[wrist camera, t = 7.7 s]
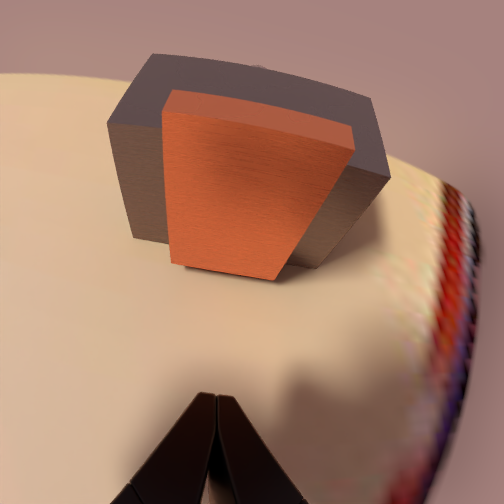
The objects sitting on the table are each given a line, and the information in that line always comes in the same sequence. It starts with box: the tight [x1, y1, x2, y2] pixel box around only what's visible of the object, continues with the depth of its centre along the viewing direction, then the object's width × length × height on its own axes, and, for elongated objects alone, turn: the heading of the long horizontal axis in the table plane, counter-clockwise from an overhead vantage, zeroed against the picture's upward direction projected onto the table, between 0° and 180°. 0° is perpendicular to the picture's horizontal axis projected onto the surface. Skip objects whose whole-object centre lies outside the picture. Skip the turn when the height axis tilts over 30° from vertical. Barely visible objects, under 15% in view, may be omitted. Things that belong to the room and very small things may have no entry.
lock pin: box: [162, 65, 355, 280], centre depth 14 cm, size 13×5×9 cm, turn 175°
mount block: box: [107, 54, 391, 269], centre depth 15 cm, size 5×10×8 cm, turn 85°
